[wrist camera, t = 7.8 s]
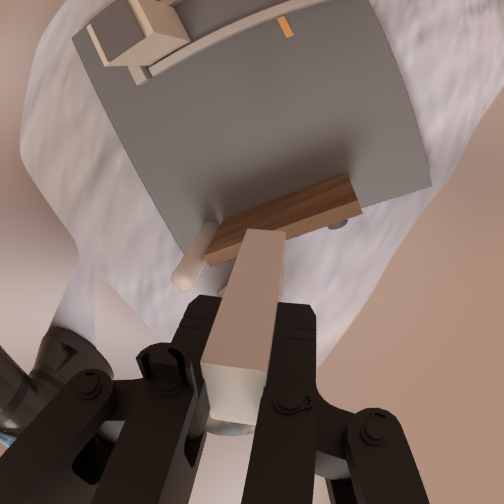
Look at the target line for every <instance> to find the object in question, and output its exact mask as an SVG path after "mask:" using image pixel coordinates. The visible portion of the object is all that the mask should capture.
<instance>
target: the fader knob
mask: <svg viewBox="0 0 504 504" xmlns="http://www.w3.org/2000/svg"><path fill="white" fill-rule="evenodd" d="M89 22H90V24H89V25H88V26H87V27H86V28H87V30H88V32H89V34H90V36H91V39H92V41H93V43H94V45H95V47H96V49H97V52H98V54H99V56H100V58H101V60H102V62H103V64H104V66H105V67H109V66H150V65H152V64H154V63H155V62H157V61H159V60H160V59H162V58H163V57H165V56H167V55H169V54H170V53H172V52H174V51H176V50H177V49H179V48H181V47H183V46H184V45H186V44H188V43H190V42H191V40H190V38H189V36H188V34H187V32H186V30H185V28H184V26H183V24H182V22H181V21H180V19H179V17H178V15H177V13H176V11H175V9H174V8H172V7H170V6H168V5H165V4H163V3H161V2H158V1H156V0H116V1H115V2H113V3H112V4H111V5H109V6H108V7H107V8H105V9H104V10H103V11H101V12H100V13H99V14H98V15H96V16H95V17H94V18H93V19H91V20H90V21H89Z"/></svg>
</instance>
